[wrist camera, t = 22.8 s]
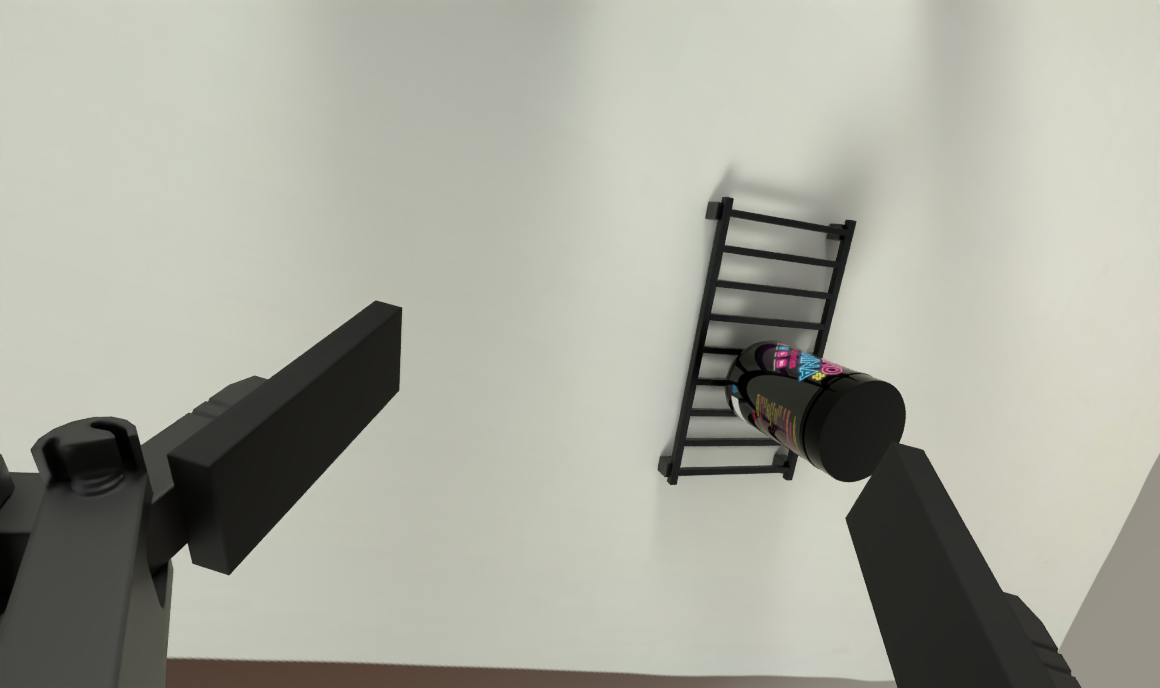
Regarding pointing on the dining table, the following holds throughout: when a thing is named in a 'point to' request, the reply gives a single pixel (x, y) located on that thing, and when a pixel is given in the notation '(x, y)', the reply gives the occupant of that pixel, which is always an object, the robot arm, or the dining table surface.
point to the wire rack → (722, 214)
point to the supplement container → (816, 408)
